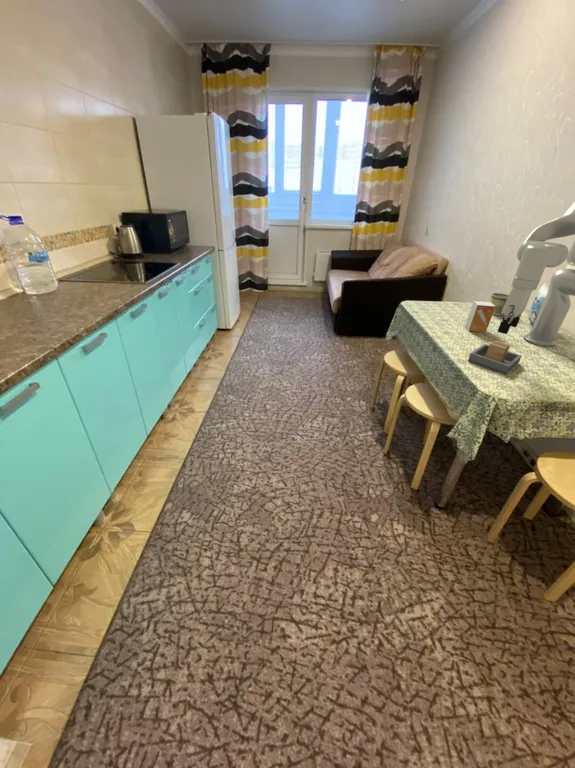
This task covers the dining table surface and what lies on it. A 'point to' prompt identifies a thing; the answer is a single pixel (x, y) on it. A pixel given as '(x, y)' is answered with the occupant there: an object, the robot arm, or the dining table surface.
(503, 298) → the ceramic cup
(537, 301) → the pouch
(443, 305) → the dining table surface
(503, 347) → the wooden block
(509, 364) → the tray
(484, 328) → the small box
